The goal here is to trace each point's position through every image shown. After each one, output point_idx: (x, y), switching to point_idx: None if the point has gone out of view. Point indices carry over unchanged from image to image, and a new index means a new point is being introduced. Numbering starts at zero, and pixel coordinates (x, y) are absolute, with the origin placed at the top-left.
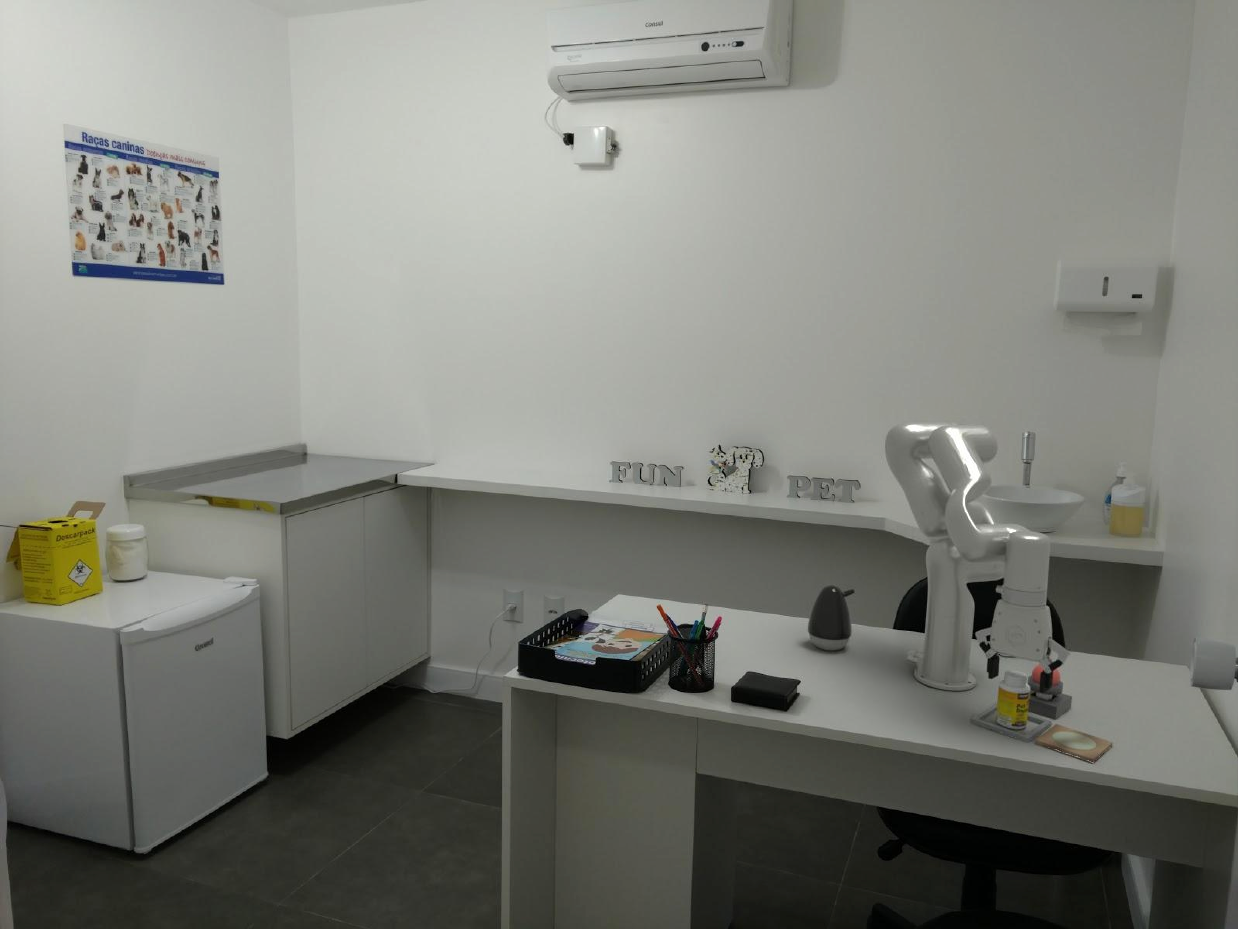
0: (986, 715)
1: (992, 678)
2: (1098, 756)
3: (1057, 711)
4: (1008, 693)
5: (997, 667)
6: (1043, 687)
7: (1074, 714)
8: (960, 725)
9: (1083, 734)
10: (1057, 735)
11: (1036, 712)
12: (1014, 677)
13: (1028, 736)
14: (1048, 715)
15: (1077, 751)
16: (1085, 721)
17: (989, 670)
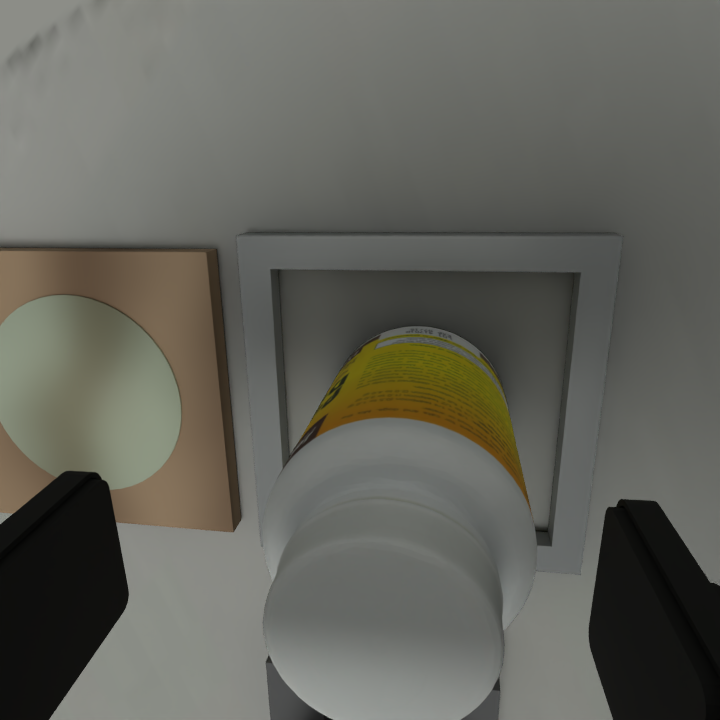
0: (565, 392)
1: (606, 511)
2: None
3: None
4: (397, 410)
5: (623, 695)
6: (34, 503)
7: (257, 710)
8: (658, 134)
9: None
10: (158, 395)
11: None
12: (346, 544)
13: (250, 263)
14: None
15: (8, 282)
16: (194, 671)
17: (683, 558)
